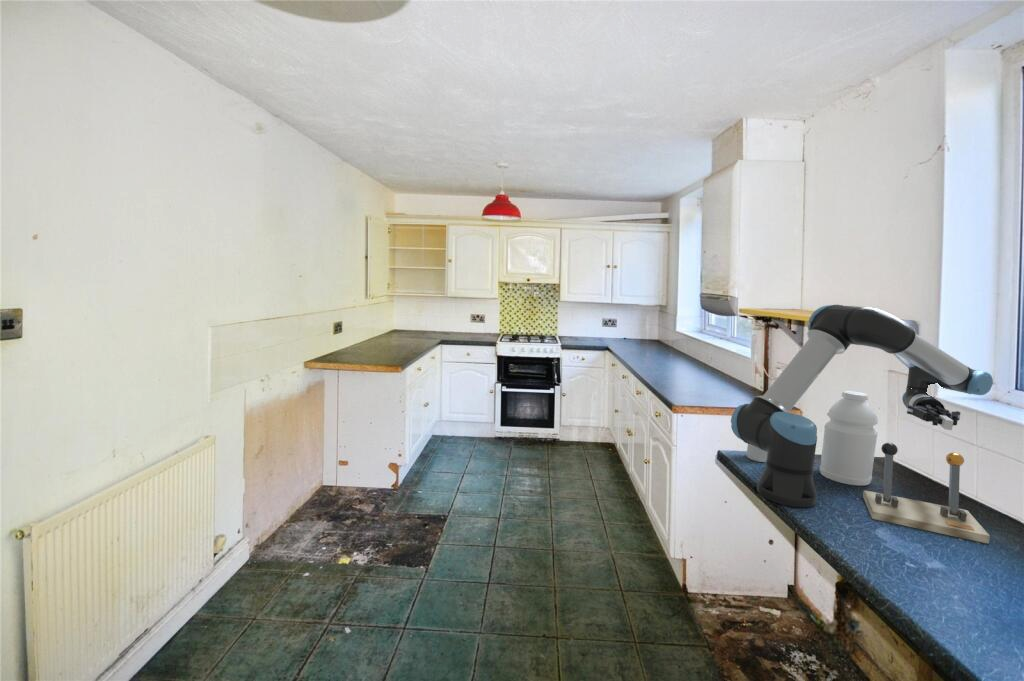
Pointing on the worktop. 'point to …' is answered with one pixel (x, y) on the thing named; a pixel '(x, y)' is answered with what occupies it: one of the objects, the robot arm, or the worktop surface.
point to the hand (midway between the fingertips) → (949, 425)
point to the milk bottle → (756, 453)
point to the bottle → (849, 440)
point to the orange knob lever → (954, 481)
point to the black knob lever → (888, 469)
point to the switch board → (925, 516)
